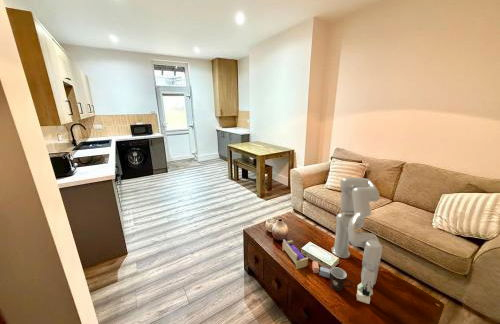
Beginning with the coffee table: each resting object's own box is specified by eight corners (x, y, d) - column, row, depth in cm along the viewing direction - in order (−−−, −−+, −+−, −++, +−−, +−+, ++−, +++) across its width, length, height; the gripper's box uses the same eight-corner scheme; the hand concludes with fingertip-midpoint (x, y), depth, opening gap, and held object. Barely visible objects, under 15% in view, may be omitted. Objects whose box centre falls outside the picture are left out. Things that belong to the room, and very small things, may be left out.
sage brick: (357, 289, 110) (362, 285, 109) (357, 285, 113) (362, 281, 111) (367, 297, 109) (373, 293, 107) (367, 293, 112) (372, 289, 110)
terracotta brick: (312, 266, 136) (312, 261, 135) (317, 266, 136) (317, 261, 135) (313, 272, 131) (313, 267, 130) (318, 273, 130) (319, 268, 129)
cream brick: (356, 300, 112) (357, 294, 111) (356, 295, 115) (357, 289, 114) (369, 304, 109) (370, 298, 109) (368, 299, 112) (369, 293, 111)
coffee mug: (325, 283, 123) (327, 269, 120) (336, 279, 126) (338, 265, 123) (340, 299, 112) (342, 284, 110) (352, 294, 115) (354, 280, 113)
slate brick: (319, 275, 129) (319, 269, 128) (319, 271, 132) (320, 266, 131) (329, 278, 126) (329, 273, 125) (329, 274, 129) (330, 269, 128)
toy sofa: (308, 267, 136) (309, 253, 133) (296, 270, 133) (297, 257, 130) (291, 247, 155) (292, 235, 152) (281, 250, 152) (282, 238, 149)
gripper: (361, 252, 115) (356, 278, 119) (363, 272, 100) (358, 301, 105) (376, 256, 112) (371, 283, 116) (381, 277, 97) (374, 307, 102)
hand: (365, 291), depth 110 cm, fingers closed on sage brick, 3 cm apart
